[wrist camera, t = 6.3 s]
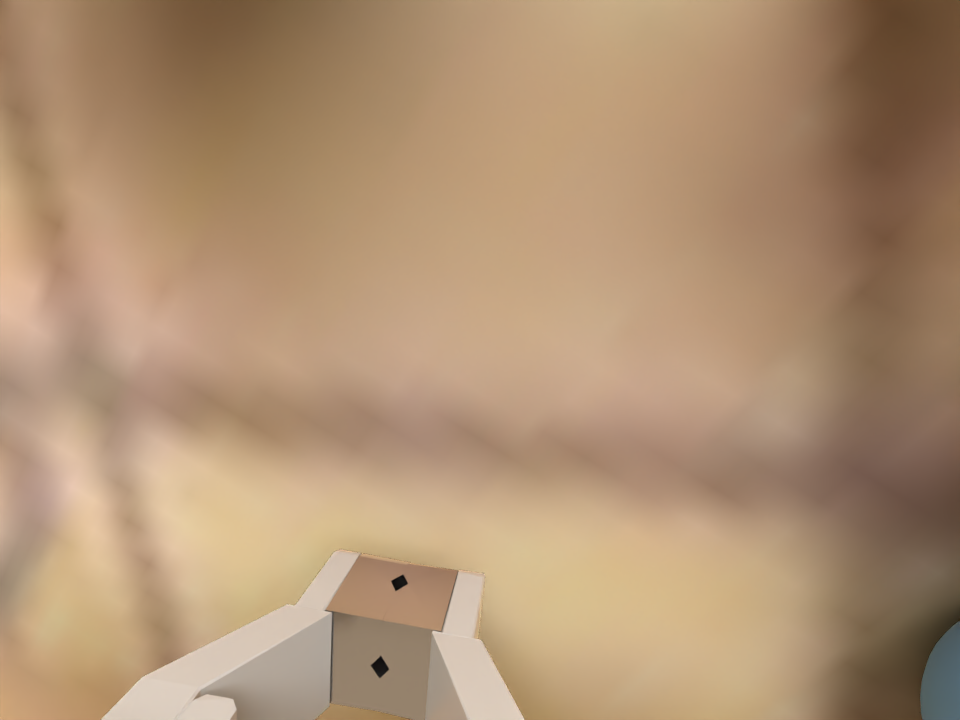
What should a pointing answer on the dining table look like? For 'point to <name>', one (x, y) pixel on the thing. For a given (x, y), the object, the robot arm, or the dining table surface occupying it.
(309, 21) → the dining table surface
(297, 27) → the dining table surface
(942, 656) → the ball
